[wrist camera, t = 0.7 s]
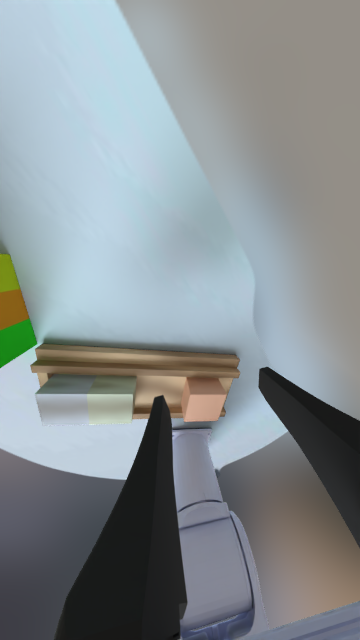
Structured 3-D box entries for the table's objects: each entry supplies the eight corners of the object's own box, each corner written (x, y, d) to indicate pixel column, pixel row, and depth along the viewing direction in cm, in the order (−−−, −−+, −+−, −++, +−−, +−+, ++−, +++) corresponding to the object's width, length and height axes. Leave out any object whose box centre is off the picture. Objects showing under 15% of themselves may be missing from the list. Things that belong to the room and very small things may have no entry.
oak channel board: (217, 410, 26) (227, 435, 22) (56, 413, 22) (33, 445, 18) (235, 354, 22) (251, 374, 18) (42, 343, 18) (9, 366, 14)
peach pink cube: (210, 402, 24) (217, 420, 21) (181, 402, 23) (184, 421, 20) (218, 378, 22) (226, 394, 19) (186, 377, 21) (190, 394, 18)
